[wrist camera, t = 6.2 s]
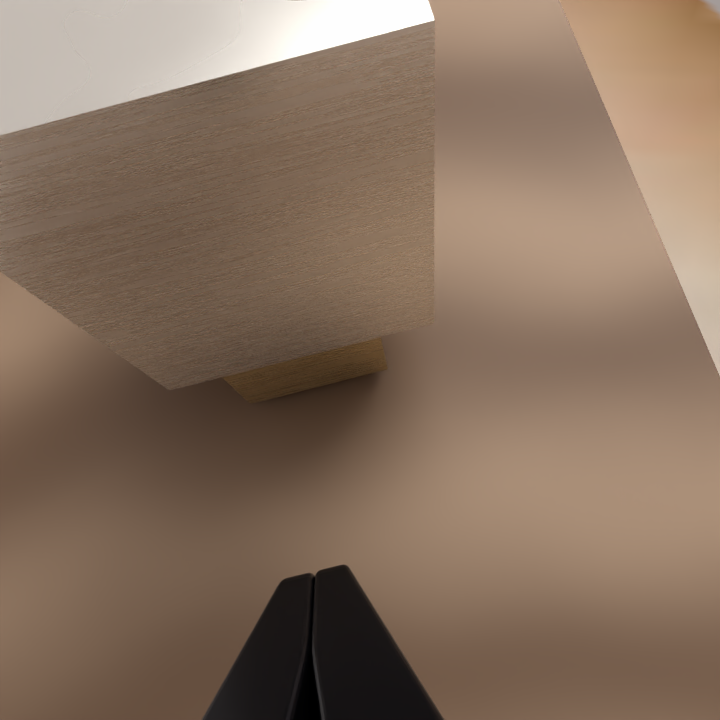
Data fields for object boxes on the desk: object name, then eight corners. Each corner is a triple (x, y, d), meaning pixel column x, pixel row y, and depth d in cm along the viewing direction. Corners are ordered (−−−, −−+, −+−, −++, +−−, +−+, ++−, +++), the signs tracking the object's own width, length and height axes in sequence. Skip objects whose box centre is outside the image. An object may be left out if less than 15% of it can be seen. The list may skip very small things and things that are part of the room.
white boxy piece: (433, 357, 14) (435, 19, 6) (204, 415, 14) (-141, 173, 6) (342, 31, 17) (249, -522, 8) (152, 81, 17) (-127, -411, 9)
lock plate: (889, 877, 12) (1195, 1080, 7) (39, 1068, 12) (-211, 1378, 8) (522, -23, 19) (552, -225, 14) (-12, 119, 20) (-158, -30, 15)
